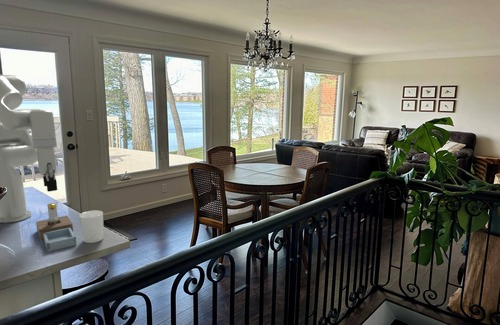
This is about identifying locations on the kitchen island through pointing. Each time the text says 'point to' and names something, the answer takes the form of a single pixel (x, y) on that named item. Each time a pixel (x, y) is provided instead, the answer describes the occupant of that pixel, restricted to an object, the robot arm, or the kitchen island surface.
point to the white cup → (92, 226)
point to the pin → (53, 213)
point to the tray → (59, 239)
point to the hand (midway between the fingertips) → (50, 188)
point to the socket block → (45, 225)
